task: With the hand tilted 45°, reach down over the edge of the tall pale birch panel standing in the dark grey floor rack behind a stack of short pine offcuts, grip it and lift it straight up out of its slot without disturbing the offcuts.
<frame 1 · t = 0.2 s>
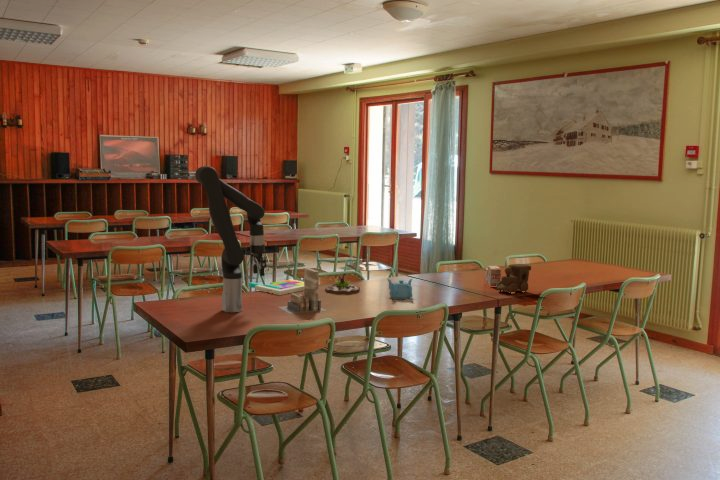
hand: (258, 274, 338), 18 cm above the table, tool pointing down, fingers open, 8 cm apart
floor rack: (301, 311, 336), on the table
plant: (342, 291, 391), on the table
teapot: (399, 297, 377), on the table
pine offcuts: (299, 308, 336), point 1 cm above the table, touching floor rack
birch panel: (310, 307, 339), point 1 cm above the table, touching floor rack
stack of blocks: (491, 285, 424), on the table
puzzle game: (280, 288, 395), on the table
wooden toy train: (512, 292, 401), on the table
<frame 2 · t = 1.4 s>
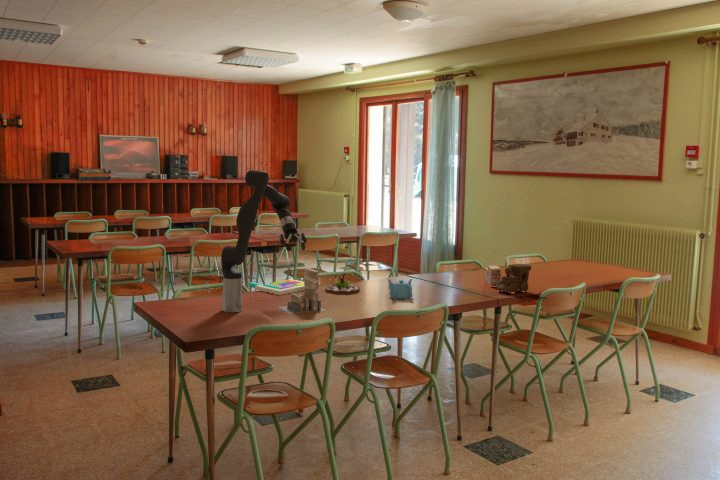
hand: (296, 250, 352), 29 cm above the table, tool tilted 45°, fingers open, 8 cm apart
nothing on the table moved.
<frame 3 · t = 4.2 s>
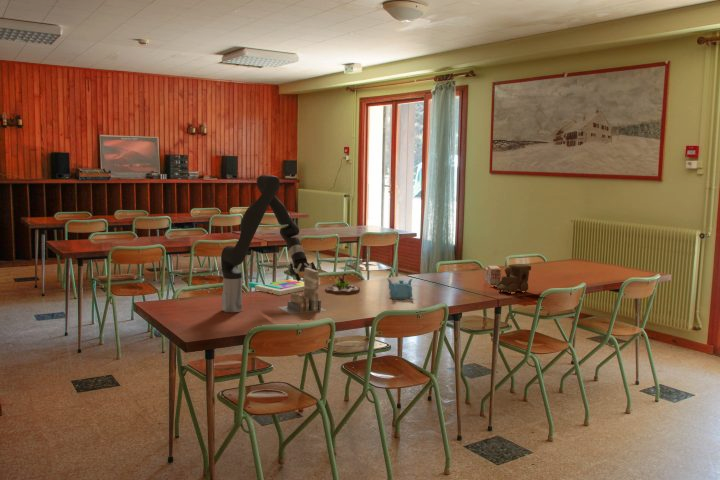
hand: (306, 280, 342), 15 cm above the table, tool tilted 45°, fingers open, 8 cm apart
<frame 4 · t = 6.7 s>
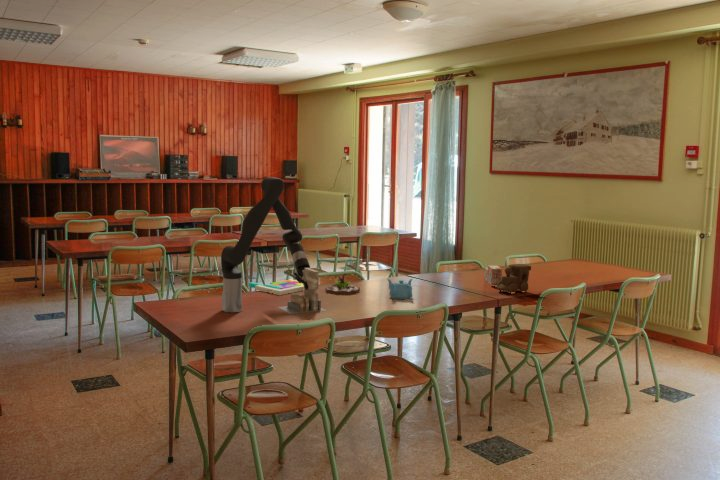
hand: (310, 288, 339), 11 cm above the table, tool tilted 45°, fingers closed on birch panel, 2 cm apart
birch panel: (310, 307, 339), point 2 cm above the table, touching floor rack, gripper
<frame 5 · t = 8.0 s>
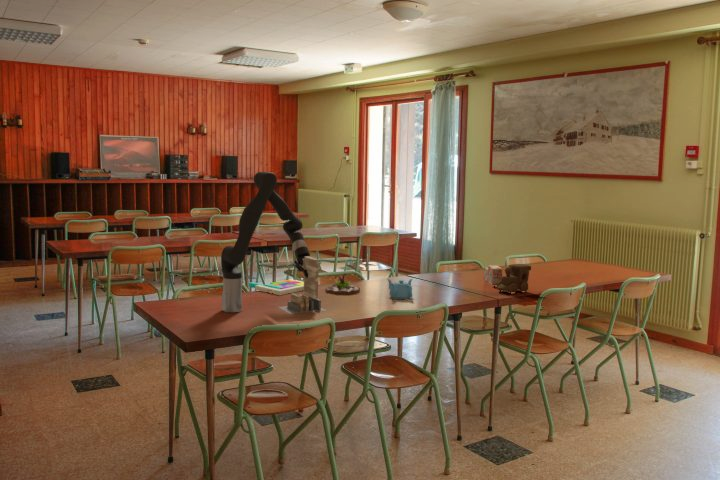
hand: (310, 276, 338), 18 cm above the table, tool tilted 45°, fingers closed on birch panel, 2 cm apart
birch panel: (310, 296, 338), point 8 cm above the table, touching gripper
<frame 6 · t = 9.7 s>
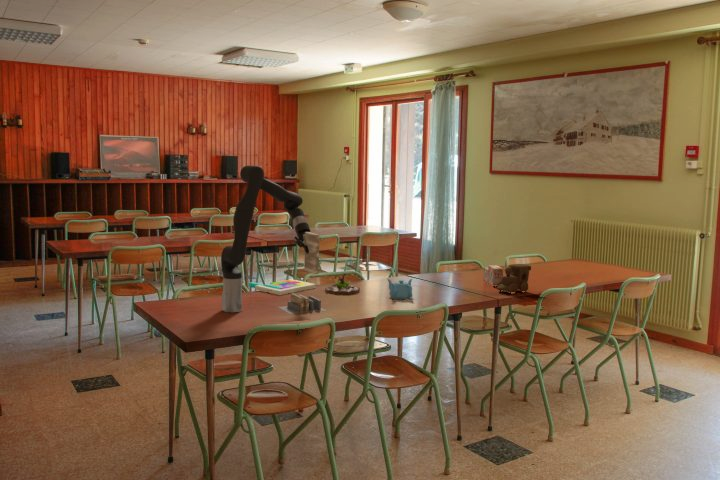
hand: (310, 252, 336), 30 cm above the table, tool tilted 45°, fingers closed on birch panel, 2 cm apart
birch panel: (311, 272, 336), point 20 cm above the table, touching gripper
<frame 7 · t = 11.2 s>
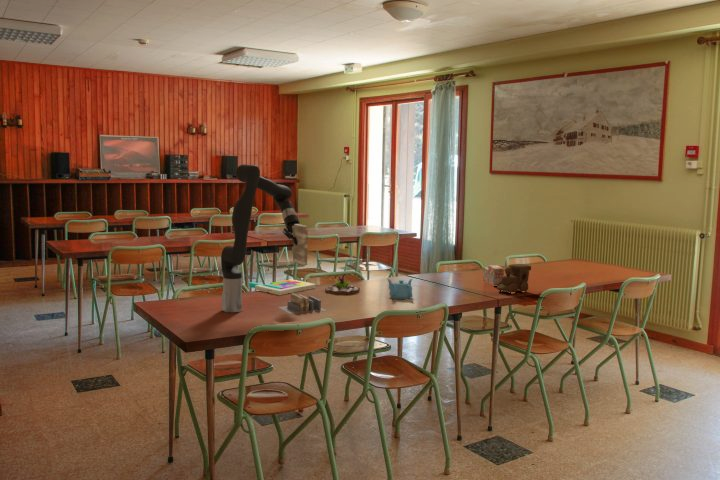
hand: (299, 244, 341), 34 cm above the table, tool tilted 45°, fingers closed on birch panel, 2 cm apart
birch panel: (300, 263, 341), point 24 cm above the table, touching gripper
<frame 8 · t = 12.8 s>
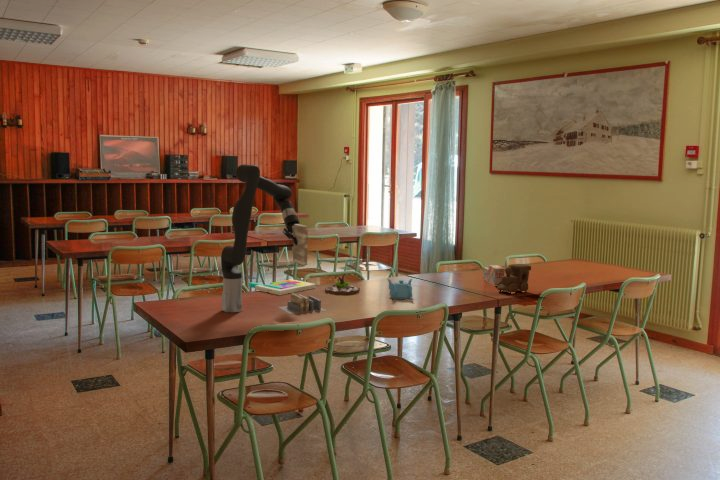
hand: (299, 244, 341), 34 cm above the table, tool tilted 45°, fingers closed on birch panel, 2 cm apart
birch panel: (300, 263, 341), point 24 cm above the table, touching gripper
at the end: the gripper is holding birch panel; birch panel point 23.8 cm above the table; pine offcuts moved 0.0 cm from its start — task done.
